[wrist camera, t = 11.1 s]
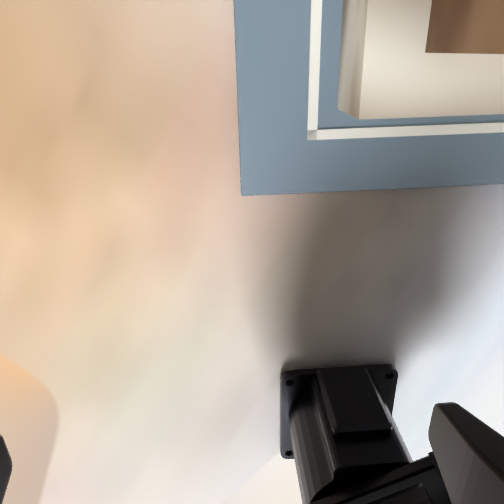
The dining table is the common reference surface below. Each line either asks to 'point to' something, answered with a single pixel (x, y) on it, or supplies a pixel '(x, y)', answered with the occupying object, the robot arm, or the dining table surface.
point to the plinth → (409, 67)
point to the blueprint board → (337, 116)
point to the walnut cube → (466, 27)
